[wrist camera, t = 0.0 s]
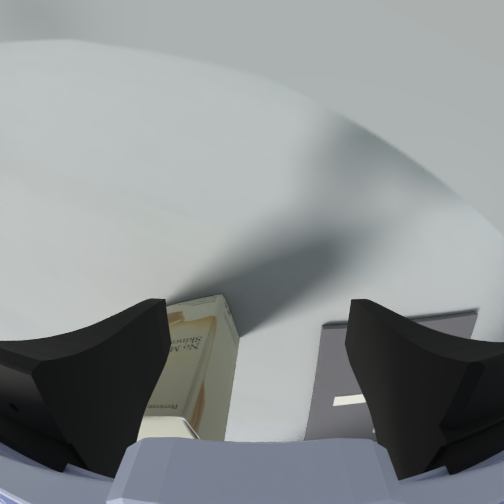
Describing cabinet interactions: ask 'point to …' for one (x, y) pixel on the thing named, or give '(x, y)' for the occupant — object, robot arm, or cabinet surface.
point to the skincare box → (195, 373)
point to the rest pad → (346, 386)
